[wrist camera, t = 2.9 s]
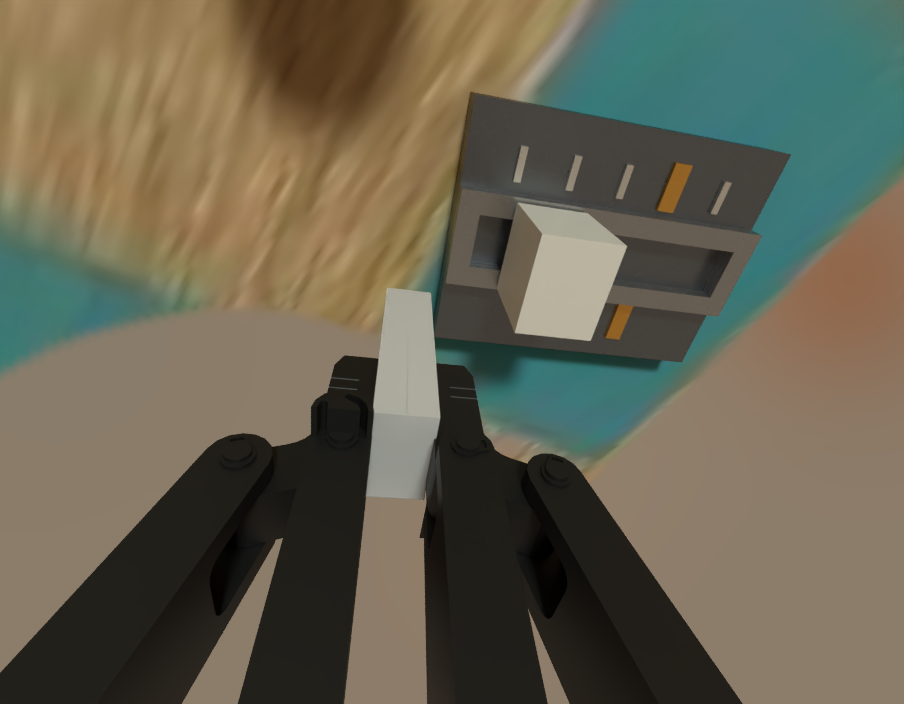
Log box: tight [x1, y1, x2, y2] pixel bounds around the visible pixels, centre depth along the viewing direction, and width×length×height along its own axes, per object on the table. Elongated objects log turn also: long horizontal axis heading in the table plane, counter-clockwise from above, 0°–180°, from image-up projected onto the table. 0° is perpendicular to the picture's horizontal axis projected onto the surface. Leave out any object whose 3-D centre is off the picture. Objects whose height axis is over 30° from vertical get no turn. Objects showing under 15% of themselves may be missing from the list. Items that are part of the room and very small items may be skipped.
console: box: [433, 92, 791, 362], centre depth 27 cm, size 18×14×3 cm
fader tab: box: [497, 203, 627, 341], centre depth 24 cm, size 4×5×6 cm
